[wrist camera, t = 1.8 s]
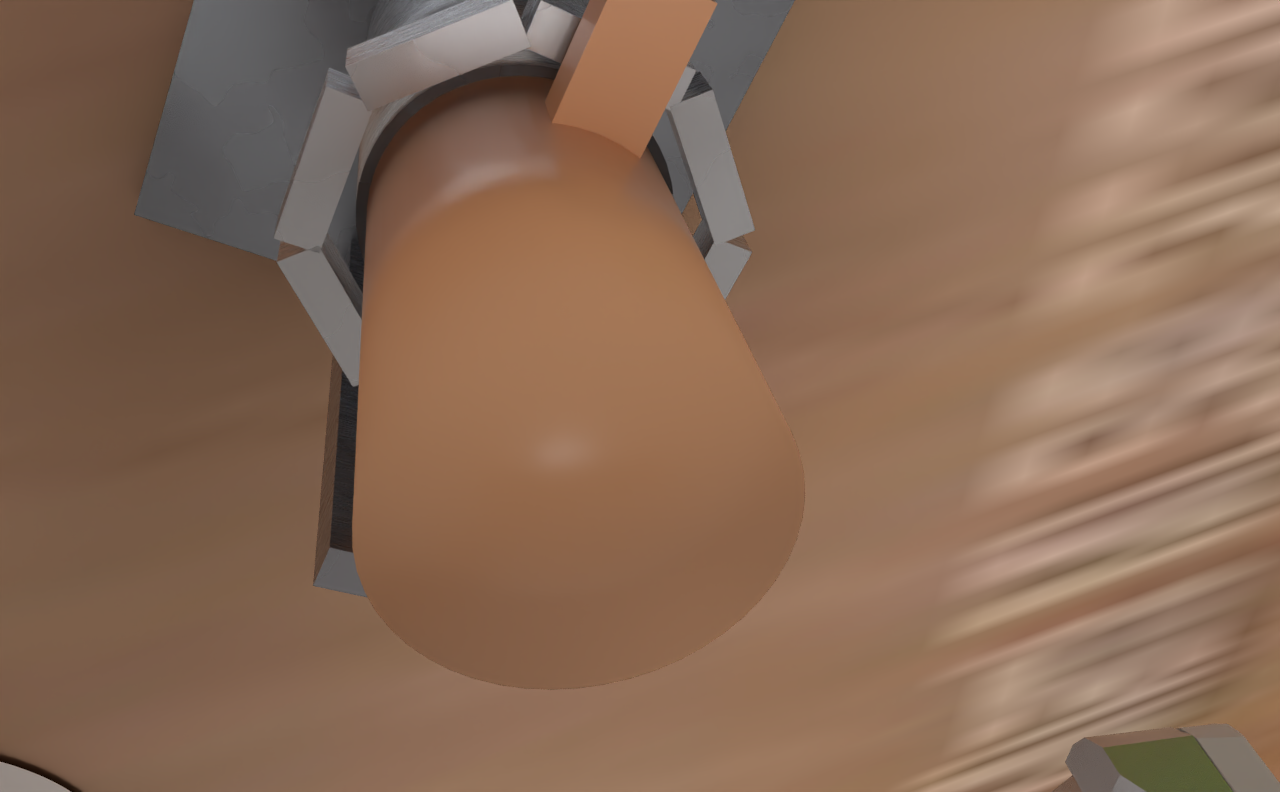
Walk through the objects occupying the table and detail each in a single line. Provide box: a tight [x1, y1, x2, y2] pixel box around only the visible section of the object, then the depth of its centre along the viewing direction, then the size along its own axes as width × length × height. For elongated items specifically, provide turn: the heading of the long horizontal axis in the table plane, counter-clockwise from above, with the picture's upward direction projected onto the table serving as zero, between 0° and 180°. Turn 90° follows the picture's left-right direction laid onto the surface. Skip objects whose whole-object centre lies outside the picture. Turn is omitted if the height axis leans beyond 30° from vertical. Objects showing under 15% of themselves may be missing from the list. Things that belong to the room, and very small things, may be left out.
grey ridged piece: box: [134, 0, 795, 597], centre depth 24 cm, size 15×14×14 cm
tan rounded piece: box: [352, 0, 805, 690], centre depth 17 cm, size 11×6×9 cm, turn 154°
